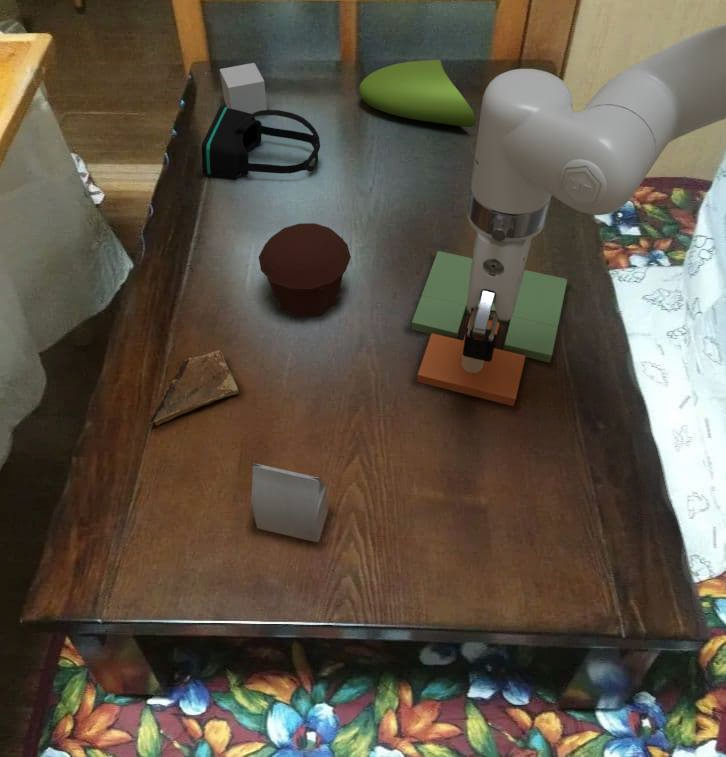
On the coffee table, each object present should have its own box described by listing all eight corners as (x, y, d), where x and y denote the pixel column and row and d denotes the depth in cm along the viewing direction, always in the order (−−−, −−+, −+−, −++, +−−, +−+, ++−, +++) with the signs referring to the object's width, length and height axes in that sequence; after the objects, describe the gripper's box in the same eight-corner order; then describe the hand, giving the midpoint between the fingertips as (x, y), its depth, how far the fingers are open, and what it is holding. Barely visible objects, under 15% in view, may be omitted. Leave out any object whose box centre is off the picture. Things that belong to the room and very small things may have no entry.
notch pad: (565, 286, 100) (567, 279, 99) (549, 363, 92) (552, 355, 91) (436, 258, 103) (437, 250, 102) (410, 329, 95) (411, 322, 94)
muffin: (281, 335, 94) (274, 280, 86) (251, 279, 100) (242, 223, 92) (364, 307, 97) (365, 251, 89) (331, 254, 103) (329, 197, 95)
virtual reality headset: (222, 133, 120) (220, 78, 112) (323, 155, 120) (329, 101, 112) (202, 175, 113) (199, 119, 105) (309, 198, 113) (314, 144, 105)
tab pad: (529, 337, 94) (541, 297, 88) (513, 406, 88) (525, 367, 82) (438, 316, 96) (444, 275, 90) (416, 382, 90) (421, 342, 84)
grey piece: (318, 542, 77) (314, 496, 69) (257, 528, 78) (246, 481, 70) (327, 512, 79) (325, 464, 71) (268, 498, 80) (258, 449, 72)
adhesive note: (233, 121, 123) (228, 87, 118) (224, 101, 126) (219, 69, 121) (267, 113, 124) (264, 80, 119) (258, 95, 128) (254, 62, 123)
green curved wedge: (482, 48, 120) (361, 46, 123) (476, 102, 115) (350, 98, 118) (479, 86, 127) (366, 83, 130) (474, 139, 122) (355, 135, 125)
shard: (152, 429, 85) (149, 420, 84) (135, 382, 89) (131, 373, 88) (240, 397, 88) (239, 388, 87) (220, 352, 92) (217, 343, 91)
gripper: (532, 273, 64) (504, 391, 78) (560, 159, 74) (531, 281, 88) (449, 256, 66) (435, 375, 79) (487, 146, 76) (469, 268, 89)
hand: (485, 325), depth 83 cm, fingers open, 9 cm apart
